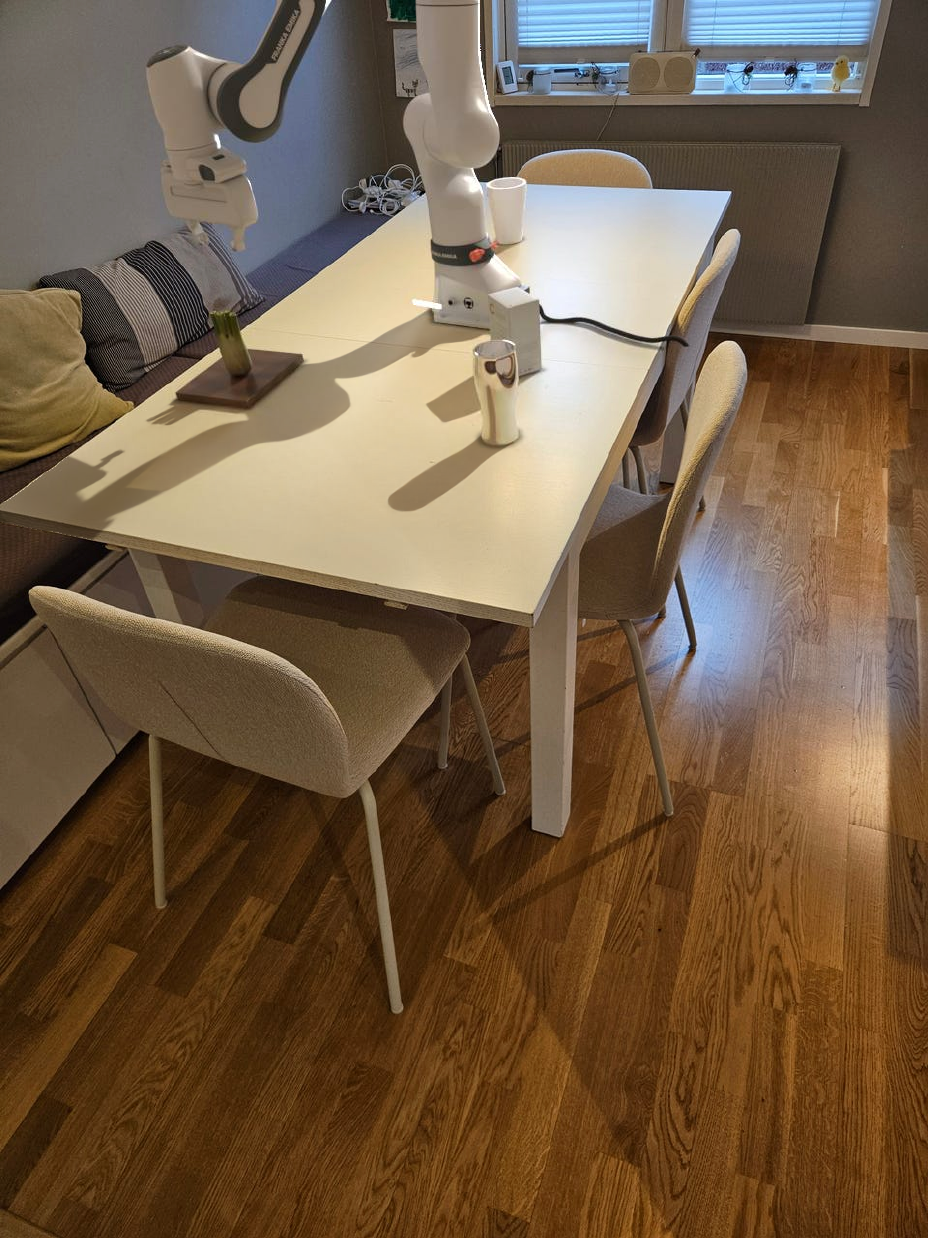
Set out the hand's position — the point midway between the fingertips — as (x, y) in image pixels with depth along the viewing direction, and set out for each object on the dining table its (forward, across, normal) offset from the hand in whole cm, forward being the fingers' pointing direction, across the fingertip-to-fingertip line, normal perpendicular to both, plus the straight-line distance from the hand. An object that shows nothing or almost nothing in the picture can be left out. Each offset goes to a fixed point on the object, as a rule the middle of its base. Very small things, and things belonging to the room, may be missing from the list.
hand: (221, 247), depth 154 cm
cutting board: (+23, +1, -4) cm, 24 cm away
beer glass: (+24, +58, 0) cm, 63 cm away
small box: (+24, +46, +23) cm, 57 cm away
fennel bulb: (+22, +1, -4) cm, 22 cm away
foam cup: (+25, +6, +81) cm, 85 cm away
